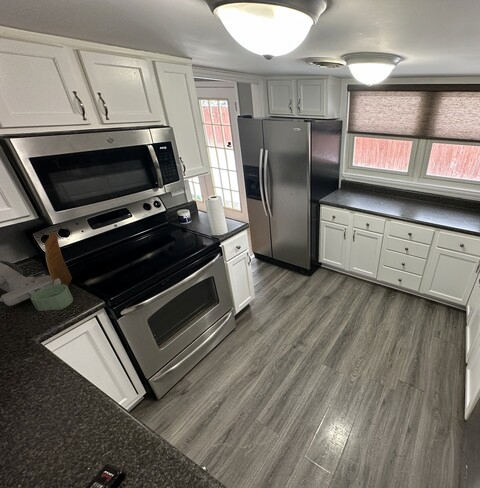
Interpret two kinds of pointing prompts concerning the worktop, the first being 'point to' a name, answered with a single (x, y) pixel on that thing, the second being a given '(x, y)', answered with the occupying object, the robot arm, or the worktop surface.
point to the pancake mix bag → (56, 261)
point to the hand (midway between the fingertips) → (42, 293)
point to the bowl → (52, 298)
